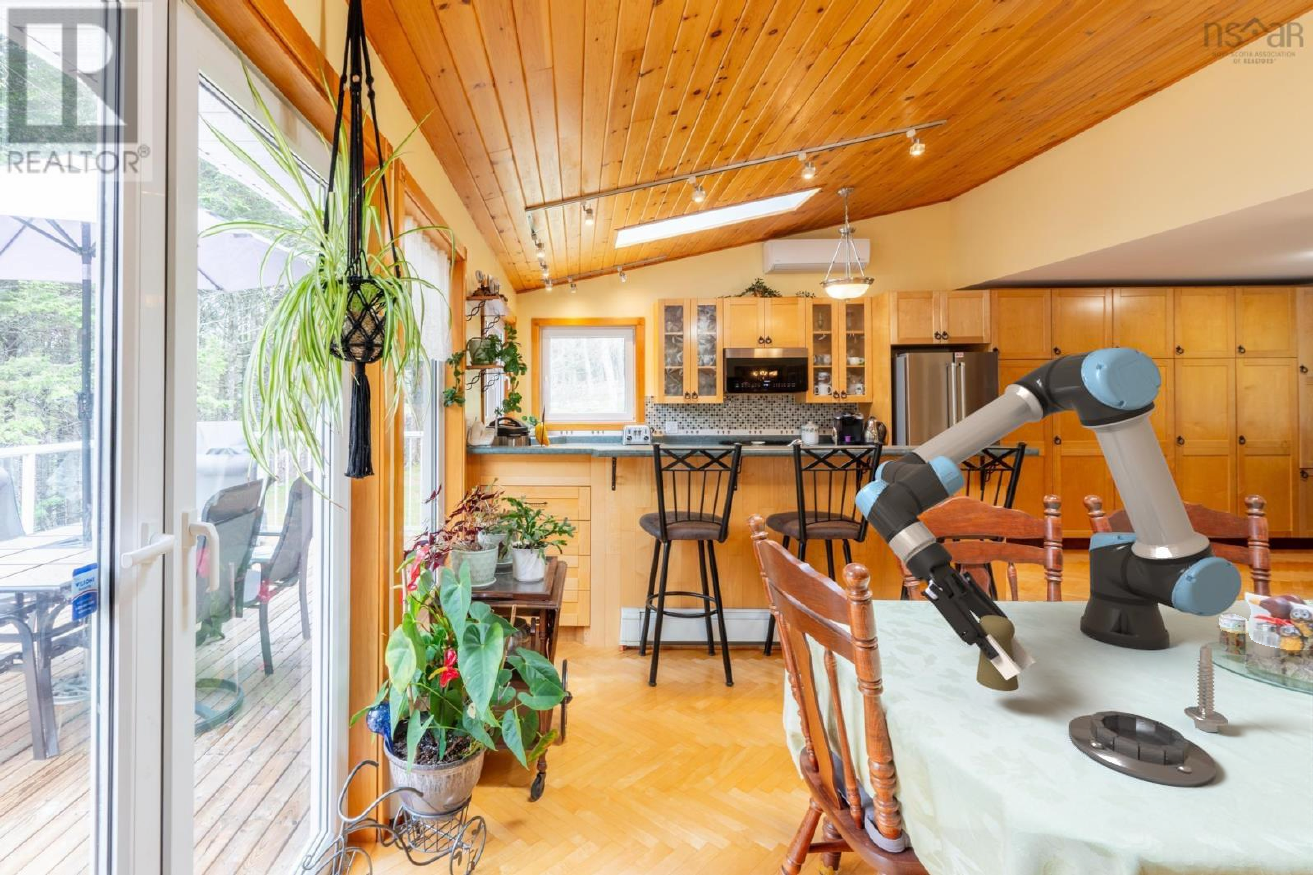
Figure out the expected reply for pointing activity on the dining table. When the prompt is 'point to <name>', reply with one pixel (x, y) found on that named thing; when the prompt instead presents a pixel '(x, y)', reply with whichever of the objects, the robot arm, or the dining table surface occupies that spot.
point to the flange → (1142, 749)
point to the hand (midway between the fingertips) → (1021, 670)
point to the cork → (1002, 634)
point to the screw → (1206, 696)
